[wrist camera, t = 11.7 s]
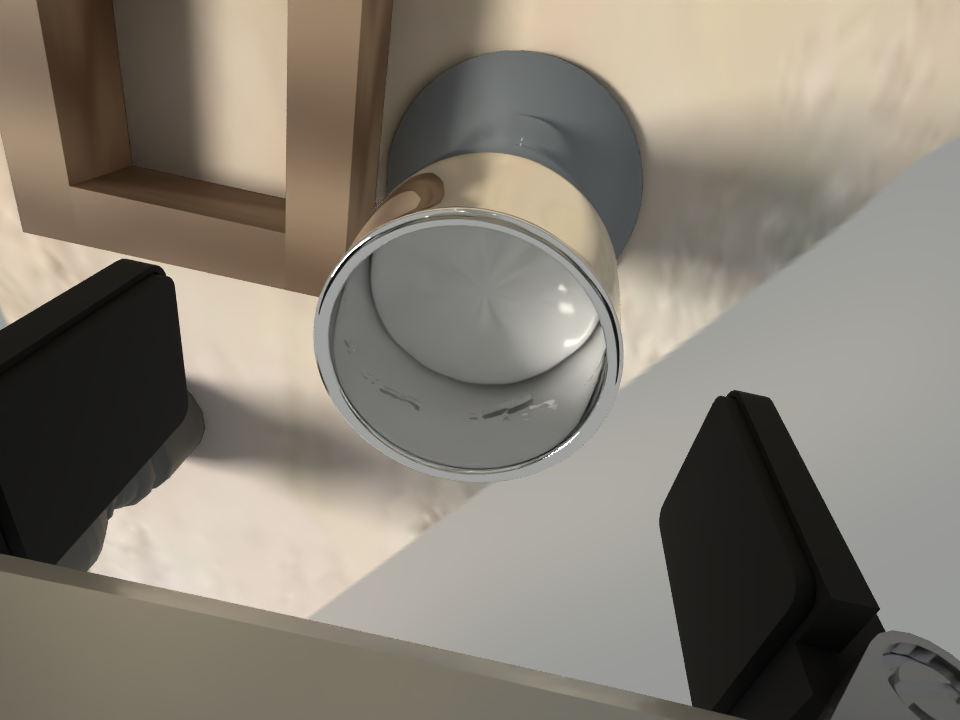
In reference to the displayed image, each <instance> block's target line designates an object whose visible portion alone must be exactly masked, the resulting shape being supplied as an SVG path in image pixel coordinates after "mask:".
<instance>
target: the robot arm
mask: <svg viewBox="0 0 960 720" xmlns="http://www.w3.org/2000/svg"><path fill="white" fill-rule="evenodd" d="M187 411H188V395H187V386H186V378H185V369H184V361H183V352H182V343H181V335H180V326H179V318H178V309H177V301H176V292H175V285H174V282H173V280H172V279H171V278H170V277H168V276H166V274H165V272H164V270H163V269H162V268H161V267H160V266H157V265H152V264H148V263H143V262H138V261H134V260H129V259H121V260H118V261H116V262H114V263H113V264H111V265H109V266H108V267H106V268H104V269H103V270H101V271H99V272H98V273H96V274H94V275H93V276H91V277H89V278H88V279H86V280H84V281H82V282H81V283H79V284H77V285H76V286H74V287H72V288H71V289H69V290H67V291H66V292H64V293H62V294H61V295H59V296H57V297H56V298H54V299H52V300H51V301H49V302H47V303H45V304H44V305H42V306H40V307H39V308H37V309H35V310H34V311H32V312H30V313H29V314H27V315H25V316H24V317H22V318H20V319H19V320H17V321H15V322H14V323H12V324H10V325H9V326H7V327H5V328H3V329H2V330H0V720H960V661H959V660H958V659H956V658H955V657H954V656H953V655H951V654H950V653H949V652H947V651H945V650H944V649H942V648H940V647H939V646H937V645H935V644H934V643H932V642H930V641H928V640H925V639H923V638H921V637H918V636H916V635H913V634H911V633H906V632H899V631H888V632H885V630H884V628H883V626H882V624H881V622H880V620H879V618H878V616H877V614H876V613H877V612H878V611H879V610H880V608H879V606H878V604H877V602H876V600H875V598H874V597H873V595H872V593H871V591H870V589H869V587H868V585H867V583H866V581H865V579H864V577H863V575H862V573H861V571H860V570H859V568H858V566H857V564H856V562H855V560H854V558H853V556H852V554H851V552H850V550H849V548H848V546H847V545H846V543H845V541H844V539H843V537H842V535H841V533H840V531H839V529H838V527H837V525H836V523H835V521H834V520H833V517H832V516H831V514H830V512H829V510H828V508H827V506H826V504H825V502H824V500H823V498H822V496H821V494H820V492H819V491H818V489H817V487H816V485H815V483H814V481H813V479H812V477H811V475H810V473H809V471H808V470H807V467H806V465H805V463H804V462H803V460H802V458H801V456H800V454H799V452H798V450H797V448H796V446H795V444H794V442H793V440H792V439H791V436H790V435H789V433H788V431H787V429H786V427H785V425H784V423H783V421H782V419H781V417H780V415H779V413H778V412H777V410H776V408H775V406H774V404H773V402H772V400H771V399H770V398H768V397H765V396H759V395H755V394H751V393H746V392H741V391H736V390H734V391H731V392H730V393H729V394H728V395H727V396H726V397H724V396H719V397H717V398H716V399H715V401H714V403H713V404H712V407H711V408H710V411H709V412H708V415H707V416H706V418H705V420H704V423H703V425H702V427H701V429H700V431H699V433H698V435H697V437H696V439H695V441H694V443H693V445H692V447H691V449H690V451H689V453H688V455H687V457H686V459H685V461H684V463H683V465H682V467H681V469H680V471H679V473H678V475H677V477H676V479H675V481H674V483H673V485H672V487H671V489H670V491H669V493H668V496H667V497H666V499H665V501H664V504H663V506H662V508H661V512H660V518H659V526H660V532H661V538H662V543H663V548H664V554H665V560H666V565H667V570H668V576H669V581H670V587H671V592H672V597H673V603H674V608H675V614H676V619H677V624H678V630H679V636H680V641H681V647H682V652H683V657H684V663H685V669H686V674H687V679H688V684H689V690H690V696H691V701H692V706H688V705H684V704H680V703H676V702H672V701H668V700H664V699H659V698H655V697H651V696H647V695H643V694H639V693H635V692H631V691H626V690H622V689H617V688H613V687H609V686H604V685H599V684H595V683H591V682H586V681H582V680H577V679H573V678H568V677H563V676H559V675H555V674H551V673H546V672H542V671H537V670H533V669H528V668H524V667H520V666H515V665H511V664H506V663H501V662H497V661H493V660H488V659H484V658H479V657H475V656H471V655H466V654H462V653H457V652H453V651H448V650H444V649H439V648H435V647H430V646H426V645H421V644H417V643H412V642H407V641H403V640H399V639H394V638H389V637H385V636H380V635H376V634H371V633H366V632H362V631H357V630H353V629H349V628H344V627H339V626H334V625H330V624H326V623H321V622H317V621H312V620H308V619H303V618H298V617H294V616H289V615H285V614H280V613H275V612H271V611H266V610H262V609H257V608H253V607H248V606H243V605H239V604H234V603H230V602H225V601H220V600H216V599H211V598H207V597H202V596H197V595H193V594H188V593H183V592H179V591H174V590H169V589H165V588H160V587H155V586H150V585H146V584H141V583H136V582H132V581H127V580H122V579H118V578H113V577H108V576H104V575H99V574H94V573H90V572H85V571H80V570H75V569H71V568H66V567H61V566H57V565H56V564H57V563H58V561H59V560H60V559H61V558H62V557H63V556H64V555H65V554H66V552H67V551H68V550H69V549H70V548H71V547H72V546H73V545H74V543H75V542H76V541H77V540H78V539H79V538H80V537H81V536H82V535H83V533H84V532H85V531H86V530H87V529H88V528H89V527H90V526H91V524H92V523H93V522H94V521H95V520H96V519H97V518H98V517H99V515H100V514H101V513H102V512H103V511H104V510H105V509H106V508H107V506H108V505H109V504H110V503H111V502H112V501H113V500H114V499H115V497H116V496H117V495H118V494H119V493H120V492H121V491H122V490H123V489H124V487H125V486H126V485H127V484H128V483H129V482H130V481H131V480H132V478H133V477H134V476H135V475H136V474H137V473H138V472H139V471H140V469H141V468H142V467H143V466H144V465H145V464H146V463H147V462H148V460H149V459H150V458H151V457H152V456H153V455H154V454H155V453H156V451H157V450H158V449H159V448H160V447H161V446H162V445H163V444H164V442H165V441H166V440H167V439H168V438H169V437H170V436H171V435H172V434H173V432H174V431H175V430H176V429H177V428H178V427H179V426H180V425H181V423H182V422H183V421H184V419H185V417H186V414H187Z"/></svg>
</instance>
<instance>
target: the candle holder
mask: <svg viewBox="0 0 960 720" xmlns="http://www.w3.org/2000/svg"><path fill="white" fill-rule="evenodd" d="M187 395H188V411H187V414H186V417H185V419H184V421H183V422H182V423H181V425H180V426H179V427H178V428H177V429H176V430H175V431H174V432H173V434H172V435H171V436H170V437H169V438H168V439H167V440H166V441H165V442H164V444H163V445H162V446H161V447H160V448H159V449H158V450H157V451H156V453H155V454H154V455H153V456H152V457H151V458H150V459H149V460H148V462H147V463H146V464H145V465H144V466H143V467H142V468H141V469H140V471H139V472H138V473H137V474H136V475H135V476H134V477H133V478H132V480H131V481H130V482H129V483H128V484H127V485H126V486H125V487H124V489H123V490H122V491H121V492H120V493H119V494H118V495H117V496H116V497H115V499H114V500H113V501H112V502H111V503H110V504H109V505H108V506H107V508H106V509H105V510H104V511H103V512H102V513H101V514H100V515H99V517H98V518H97V519H96V520H95V521H94V522H93V523H92V524H91V526H90V527H89V528H88V529H87V530H86V531H85V532H84V533H83V535H82V536H81V537H80V538H79V539H78V540H77V541H76V542H75V543H74V545H73V546H72V547H71V548H70V549H69V550H68V551H67V552H66V554H65V555H64V556H63V557H62V558H61V559H60V560H59V561H58V563H57V564H56V565H57V566H61V567H66V568H71V569H75V570H80V571H85V572H87V571H88V570H89V569H90V567H91V566H92V565H93V564H94V563H95V562H96V561H97V559H98V556H99V554H100V552H101V550H102V547H103V543H104V539H105V535H106V530H107V525H108V520H109V519H110V518H111V517H112V515H113V511H114V509H118V508H122V507H125V506H131V505H135V504H137V503H138V502H139V501H141V500H142V499H143V498H144V497H146V496H147V495H148V494H149V493H150V492H151V490H152V489H153V488H157V487H158V486H160V485H161V484H162V483H163V482H165V481H166V480H167V479H168V478H170V476H171V475H172V474H173V473H174V472H175V471H176V469H177V468H178V467H179V466H180V465H181V464H182V463H183V461H184V460H185V459H186V458H187V457H188V456H189V454H190V453H191V452H192V451H193V450H194V449H195V448H196V446H197V445H198V444H199V443H200V442H201V439H202V436H203V433H204V430H205V426H204V420H203V415H202V411H201V409H200V408H199V406H198V405H197V403H196V401H195V400H194V398H193V397H192V395H191V394H190V393H189V392H188V391H187Z"/></svg>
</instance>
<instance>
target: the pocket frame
mask: <svg viewBox="0 0 960 720" xmlns="http://www.w3.org/2000/svg"><path fill="white" fill-rule="evenodd" d="M392 7H393V0H288V44H287V135H286V199H282V198H278V197H273V196H269V195H264V194H260V193H255V192H250V191H246V190H241V189H237V188H232V187H227V186H223V185H218V184H214V183H209V182H205V181H200V180H195V179H191V178H186V177H182V176H177V175H172V174H168V173H163V172H159V171H154V170H150V169H145V168H140V167H136V166H132V162H131V154H130V146H129V138H128V129H127V121H126V113H125V105H124V96H123V88H122V80H121V72H120V63H119V55H118V47H117V39H116V30H115V22H114V14H113V6H112V0H0V133H1V137H2V141H3V146H4V150H5V155H6V159H7V163H8V168H9V172H10V177H11V181H12V185H13V190H14V194H15V199H16V203H17V207H18V212H19V216H20V221H21V225H22V229H23V232H26V233H30V234H35V235H39V236H44V237H48V238H53V239H57V240H62V241H66V242H71V243H76V244H80V245H85V246H89V247H94V248H98V249H103V250H107V251H112V252H116V253H121V254H125V255H130V256H135V257H139V258H144V259H148V260H153V261H157V262H162V263H166V264H171V265H175V266H180V267H184V268H189V269H194V270H198V271H203V272H207V273H212V274H216V275H221V276H225V277H230V278H234V279H239V280H243V281H248V282H253V283H257V284H262V285H266V286H271V287H275V288H280V289H284V290H289V291H293V292H298V293H302V294H307V295H312V296H316V297H320V294H321V291H322V289H323V286H324V284H325V282H326V280H327V278H328V276H329V275H330V273H331V271H332V270H333V268H334V267H335V265H336V264H337V263H338V261H339V260H340V259H341V257H342V256H343V255H344V254H345V253H346V252H347V251H348V250H349V248H350V246H351V245H352V243H353V241H354V240H355V238H356V237H357V235H358V234H359V232H360V231H361V229H362V228H363V226H364V225H365V224H366V222H367V221H368V219H369V218H370V216H371V215H372V214H373V213H374V207H375V196H376V185H377V174H378V163H379V152H380V141H381V129H382V118H383V107H384V96H385V85H386V74H387V63H388V52H389V40H390V29H391V18H392Z"/></svg>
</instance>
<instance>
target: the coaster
mask: <svg viewBox="0 0 960 720" xmlns="http://www.w3.org/2000/svg"><path fill="white" fill-rule="evenodd" d="M505 115H526V116H531V117H535V118H538V119H541V120H543V121H545V122H547V123H549V124H551V125H553V126H554V127H556V128H557V129H558V130H560V131H561V132H562V133H563V134H564V135H565V136H566V137H567V138H568V139H569V140H570V141H571V143H572V144H573V145H574V147H575V148H576V150H577V152H578V154H579V156H580V158H581V161H582V163H583V166H584V170H585V175H586V191H587V192H588V194H589V195H590V196H591V198H592V199H593V201H594V202H595V204H596V205H597V207H598V209H599V211H600V213H601V215H602V217H603V219H604V222H605V224H606V227H607V230H608V233H609V236H610V239H611V242H612V245H613V248H614V252H615V256H616V259H617V258H618V256H619V255H620V254H621V252H622V251H623V249H624V247H625V245H626V243H627V242H628V240H629V238H630V236H631V233H632V231H633V228H634V226H635V223H636V220H637V216H638V212H639V209H640V204H641V196H642V165H641V159H640V152H639V149H638V145H637V142H636V139H635V135H634V133H633V131H632V128H631V126H630V124H629V122H628V120H627V118H626V116H625V115H624V113H623V111H622V110H621V108H620V107H619V105H618V103H617V102H616V101H615V100H614V98H613V97H612V96H611V95H610V94H609V93H608V91H607V90H606V89H605V88H604V87H603V86H602V85H601V84H600V83H598V82H597V81H596V80H595V79H594V78H593V77H592V76H590V75H589V74H587V73H586V72H584V71H583V70H581V69H580V68H578V67H577V66H575V65H573V64H570V63H568V62H566V61H564V60H562V59H560V58H557V57H553V56H550V55H546V54H543V53H538V52H530V51H523V50H521V51H500V52H493V53H487V54H484V55H481V56H477V57H474V58H471V59H468V60H466V61H464V62H462V63H460V64H458V65H456V66H454V67H451V68H450V69H448V70H447V71H445V72H444V73H443V74H441V75H440V76H438V77H437V78H435V79H434V80H433V81H432V82H431V83H430V84H429V85H428V86H427V87H425V88H424V89H423V90H422V92H421V93H420V94H419V95H418V96H417V97H416V99H415V100H414V101H413V102H412V103H411V105H410V107H409V108H408V110H407V111H406V113H405V115H404V116H403V118H402V120H401V122H400V124H399V126H398V129H397V131H396V133H395V136H394V139H393V142H392V146H391V149H390V154H389V160H388V166H387V194H388V195H389V194H390V193H391V192H392V191H393V190H394V189H395V188H396V187H397V186H398V185H399V184H400V183H401V182H403V181H404V180H405V179H406V178H408V177H409V176H410V175H411V174H413V173H414V172H415V171H416V170H418V169H419V168H420V167H422V166H423V165H425V164H426V163H428V162H430V161H431V160H433V159H435V158H437V157H439V156H442V155H444V154H446V153H449V152H452V151H454V149H455V148H456V146H457V145H458V144H459V142H460V141H461V140H462V139H463V137H464V136H465V135H466V134H467V133H468V132H469V131H471V130H472V129H473V128H475V127H476V126H478V125H479V124H481V123H483V122H485V121H487V120H490V119H493V118H496V117H500V116H505Z"/></svg>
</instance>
